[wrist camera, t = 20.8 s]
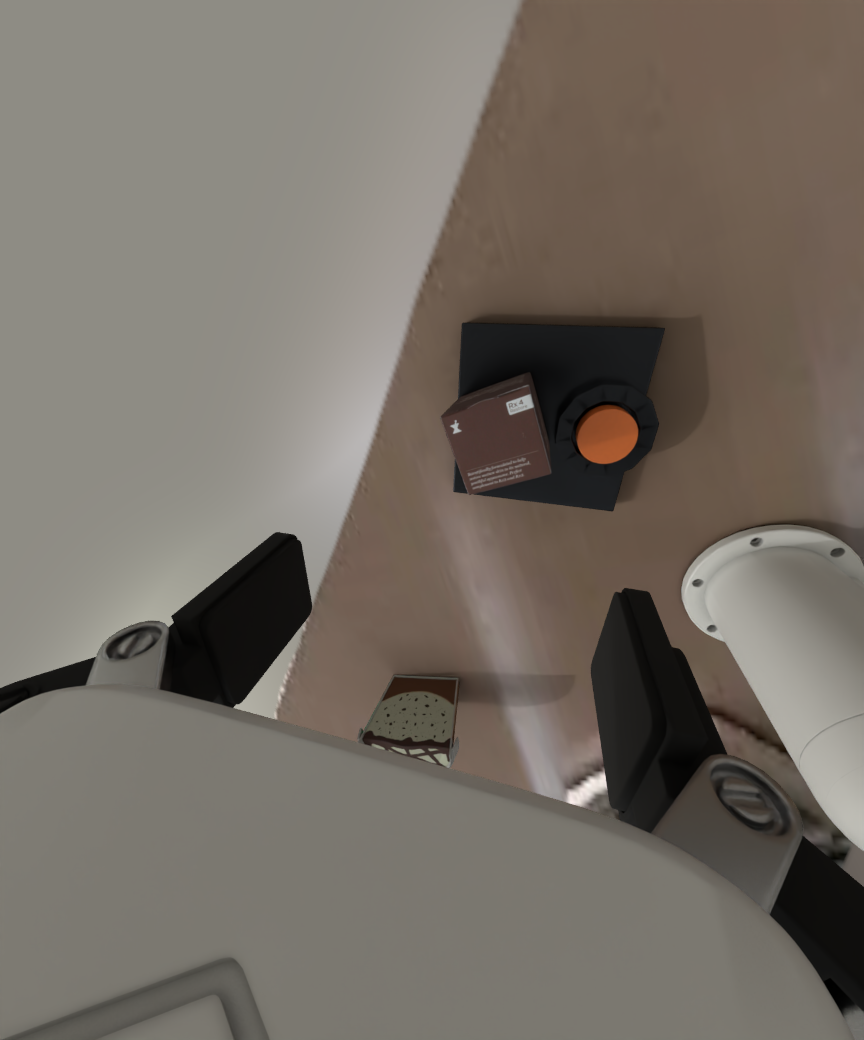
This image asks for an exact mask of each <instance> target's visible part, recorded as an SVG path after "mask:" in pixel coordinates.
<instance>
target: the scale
mask: <svg viewBox="0 0 864 1040" xmlns="http://www.w3.org/2000/svg"><path fill="white" fill-rule="evenodd" d="M664 331H665V328H656V327H618V326H579V325H540V324H501V323H462V332H461V351H460V371H459V390H458V399H459V398H460V397H462V396H464V395H467V394H470V393H473V392H475V391H478V390H480V389H483V388H486V387H489V386H491V385H494V384H497V383H499V382H502V381H505V380H508V379H511V378H514V377H516V376H519V375H522V374H525V373H528V372H529V373H530V374H531V376H532V380H533V384H534V387H535V391H536V394H537V398H538V401H539V405H540V408H541V412H542V416H543V420H544V424H545V428H546V431H547V436H548V440H549V446H550V460H551V474H549V475H546V476H542V477H538V478H535V479H531V480H526V481H523V482H519V483H515V484H511V485H507V486H504V487H500V488H496V489H492V490H488V491H484V492H480V493H476V494H475V495H483V496H492V497H500V498H508V499H516V500H524V501H533V502H541V503H549V504H557V505H565V506H574V507H582V508H590V509H598V510H606V511H613V510H614V507H615V503H616V500H617V496H618V493H619V489H620V485H621V482H622V478H623V475H624V471H627V470H630V469H632V468H633V467H634V466H635V465H636V464H637V463H638V462H639V461H640V460H641V459H642V458H643V457H644V456H645V455H646V454H647V453H648V452H649V451H650V450H651V448H652V446H653V442H654V439H655V436H656V433H657V430H658V426H659V422H658V419H657V415H656V412H655V409H654V406H653V402H652V401H651V399H649V398H648V397H646V394H647V391H648V387H649V383H650V380H651V376H652V373H653V369H654V366H655V362H656V359H657V355H658V352H659V348H660V345H661V341H662V338H663V334H664ZM602 405H615V406H619V407H621V408H623V409H624V410H626V411H627V412H628V413H629V414H630V415H631V416H632V417H633V419H634V420H635V422H636V424H637V427H638V438H637V442H636V444H635V446H634V448H633V449H632V450H631V452H630V453H629V454H628V455H626V456H625V457H624V458H622V459H620V460H618V461H616V462H613V463H608V464H599V463H595V462H592V461H590V460H588V459H587V458H585V457H584V456H583V455H582V453H581V452H580V450H579V447H578V444H577V441H576V429H577V426H578V423H579V421H580V420H581V418H582V417H583V416H584V415H585V414H586V413H587V412H588V411H590V410H591V409H593V408H595V407H598V406H602ZM453 492H459V493H467V494H468V492H467V489H466V487H465V484H464V481H463V478H462V476H461V473H460V470H459V467H458V464H457V462H456V460H455V467H454V487H453Z"/></svg>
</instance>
